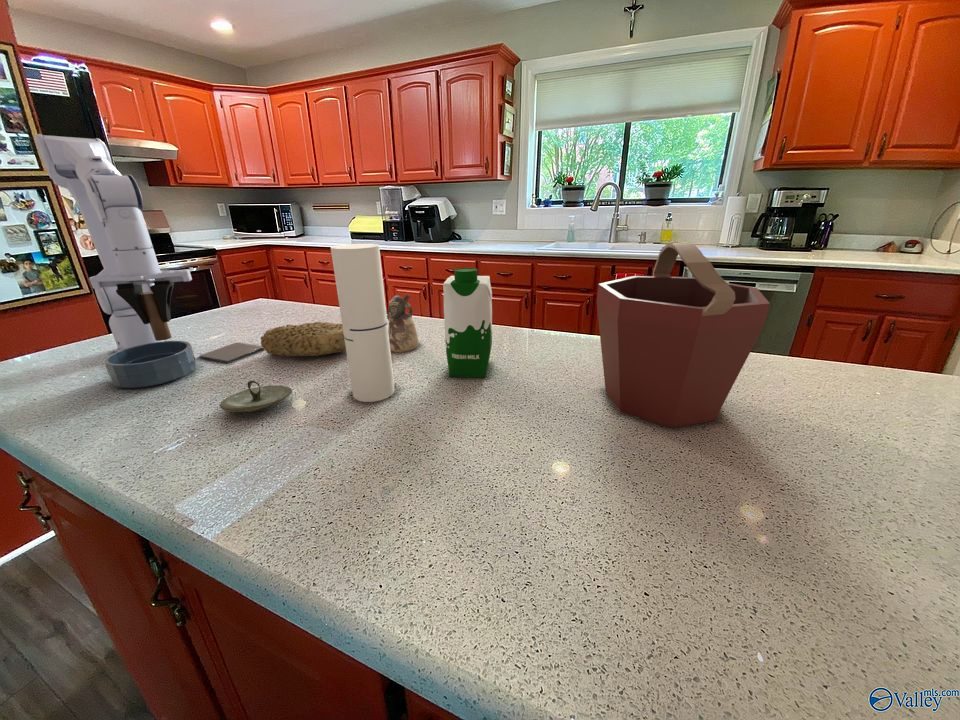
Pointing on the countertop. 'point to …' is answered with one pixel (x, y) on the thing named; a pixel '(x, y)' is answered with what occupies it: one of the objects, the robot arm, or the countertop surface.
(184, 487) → the countertop surface
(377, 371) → the cylindrical container
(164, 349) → the bowl
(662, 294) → the bucket
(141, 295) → the brown wooden peg
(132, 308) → the robot arm
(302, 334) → the sponge
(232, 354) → the square mirror plate
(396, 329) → the figurine
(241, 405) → the lid
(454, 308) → the milk carton
